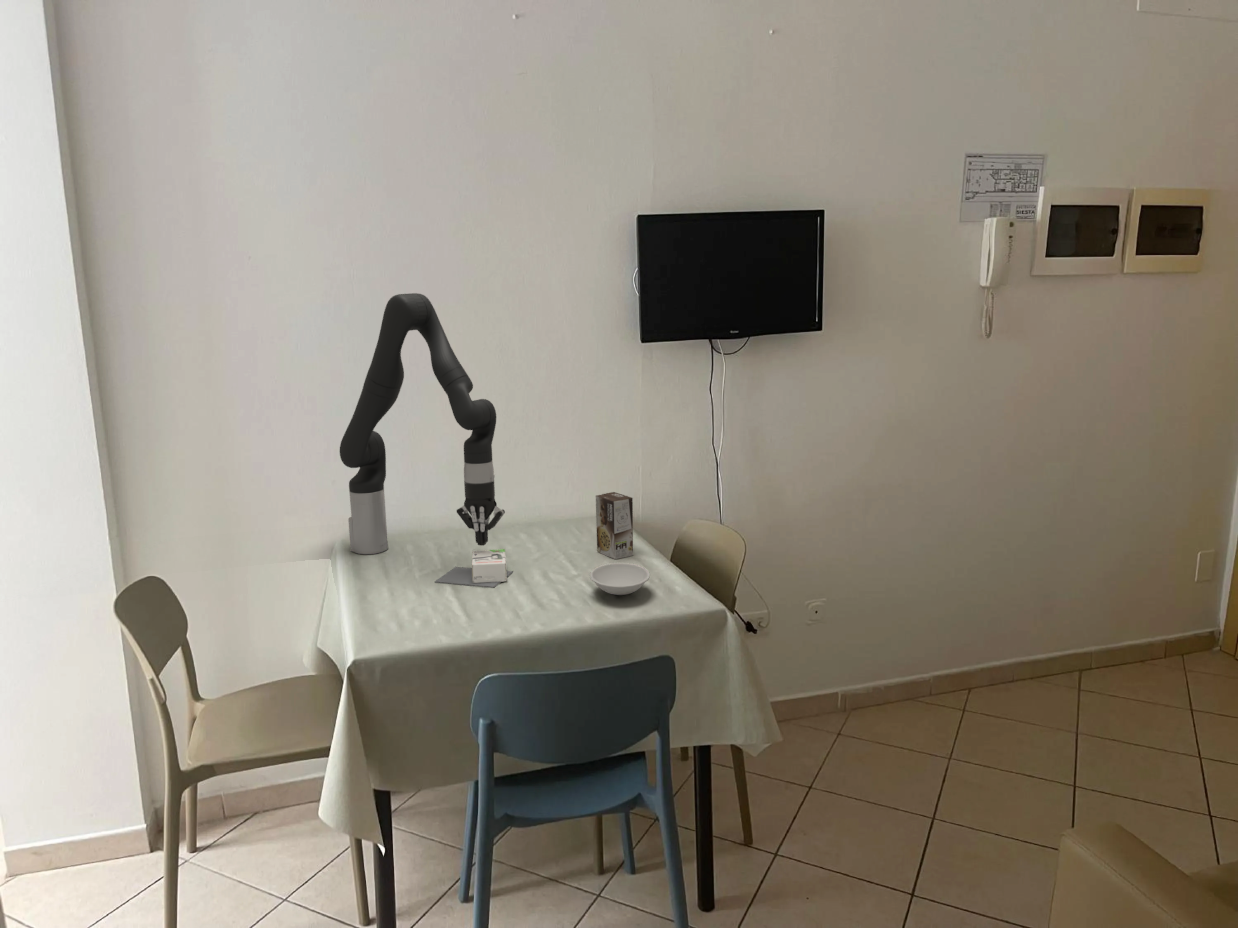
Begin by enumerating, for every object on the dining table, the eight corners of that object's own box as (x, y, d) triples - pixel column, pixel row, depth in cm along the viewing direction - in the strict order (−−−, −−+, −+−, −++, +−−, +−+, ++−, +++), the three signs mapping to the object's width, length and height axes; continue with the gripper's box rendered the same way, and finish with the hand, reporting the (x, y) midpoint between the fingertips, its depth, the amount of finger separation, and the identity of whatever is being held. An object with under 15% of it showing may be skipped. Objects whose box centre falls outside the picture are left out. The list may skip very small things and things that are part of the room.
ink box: (505, 548, 238) (506, 562, 227) (505, 566, 239) (507, 581, 228) (471, 550, 237) (471, 564, 226) (472, 568, 238) (472, 583, 227)
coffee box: (634, 555, 248) (633, 497, 245) (614, 559, 245) (613, 501, 241) (615, 547, 256) (614, 491, 252) (595, 551, 252) (594, 494, 249)
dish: (653, 606, 211) (653, 585, 210) (590, 608, 210) (590, 587, 209) (647, 580, 228) (646, 561, 227) (589, 582, 227) (588, 563, 226)
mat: (434, 582, 229) (434, 581, 229) (455, 567, 240) (455, 566, 240) (493, 587, 224) (493, 586, 224) (512, 572, 236) (512, 571, 236)
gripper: (448, 480, 230) (452, 547, 234) (497, 483, 227) (500, 550, 231) (461, 474, 238) (464, 538, 241) (509, 476, 234) (511, 542, 238)
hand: (482, 544), depth 236 cm, fingers closed
